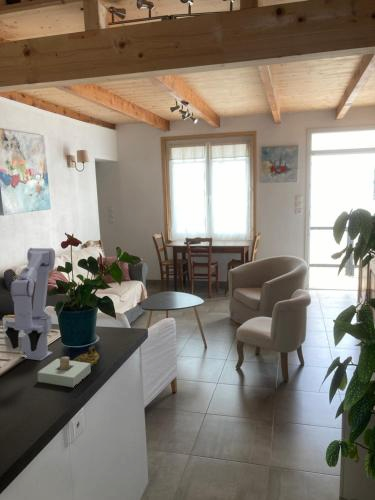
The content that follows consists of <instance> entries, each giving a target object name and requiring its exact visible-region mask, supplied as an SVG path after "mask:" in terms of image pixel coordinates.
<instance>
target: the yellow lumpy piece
mask: <svg viewBox="0 0 375 500" xmlns="http://www.w3.org/2000/svg"><path fill="white" fill-rule="evenodd" d="M99 360H100V354H99V353H98V352H97V351H96V347H95V345H91V346H90V347H89V348H88V351H87V352H86V353H82V354H79V355H77V356H76V357H74V359H73V360H72V361H78V362H85V363H91V367H92V366H94V365H95V364H97V363H98V362H99Z"/></svg>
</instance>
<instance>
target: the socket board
mask: <svg viewBox="0 0 375 500" xmlns="http://www.w3.org/2000/svg"><path fill="white" fill-rule="evenodd" d="M69 366H70V370H68V371H61V370H60V358H56V359H54V360H53V361H51V362H50V363H49V364H47V365H46V366H44V367H43V368H41V369H40V370H39V371H37V382H39V383H44V384H45V383H46V384H51V385H57V386H64V387H69V388H75V387H76V386H77V385H78V384H80V382H82V379H83V380H84V379H85V378H86V377H87V376H88V375H89V374H90V373H92V372H91V368H92V366H91V363H85V362H78V361H73V360H70V359H69ZM76 384H77V385H76ZM75 385H76V386H75ZM74 386H75V387H74Z"/></svg>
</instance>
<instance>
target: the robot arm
mask: <svg viewBox="0 0 375 500" xmlns="http://www.w3.org/2000/svg"><path fill="white" fill-rule="evenodd" d="M26 254H27V258H26V259H27V261H28V263H27V265H26V266H25V267H24V268H23V269H22V270H21V271H20V273H19V276H18V277H17V279H15V280H13V281H12V282H11V285H10V294H11V296H12V297H11V298H12V302H13V311H14V321H7V322H5V323H4V329H6V330H5V331H4V333H5V335H6V336H7V339H9V342H10V343H11V346H12V349H13V350H16V349H17V348H19V335H20V331H23V333H24V334H23V336H22V338H21V356H22V355H26V356H27V357H26V358H25V359H28V360H34V361H35V360H36V361H43V360H44V359H45V358H47V357H49V356H50V355H52V354H53V352H52V351H51V350H50V351H49V349H48V347H49V346H48V335H49V334H50V333H51V331H52V326H53V325H52V316H51V314H50V313H49V312H48V311H47V310H46V303H47V294H48V286H49V275H50V273H51V271H52V270H54V267H55V264H56V263H55V262H56V251H55V249H54V248H53V247H51V248H50V247H49V248H46V247H45V248H44V247H43V248H41V247H40V248H39V247H29V248H28V250H27V253H26ZM32 296H34V297H33V302H32ZM32 303H33V304H32Z"/></svg>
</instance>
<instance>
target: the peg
mask: <svg viewBox="0 0 375 500" xmlns="http://www.w3.org/2000/svg"><path fill="white" fill-rule="evenodd" d="M59 359H60V370H61V371H68V370H70V366H69V360H70V356H62V357H60V358H59Z"/></svg>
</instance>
